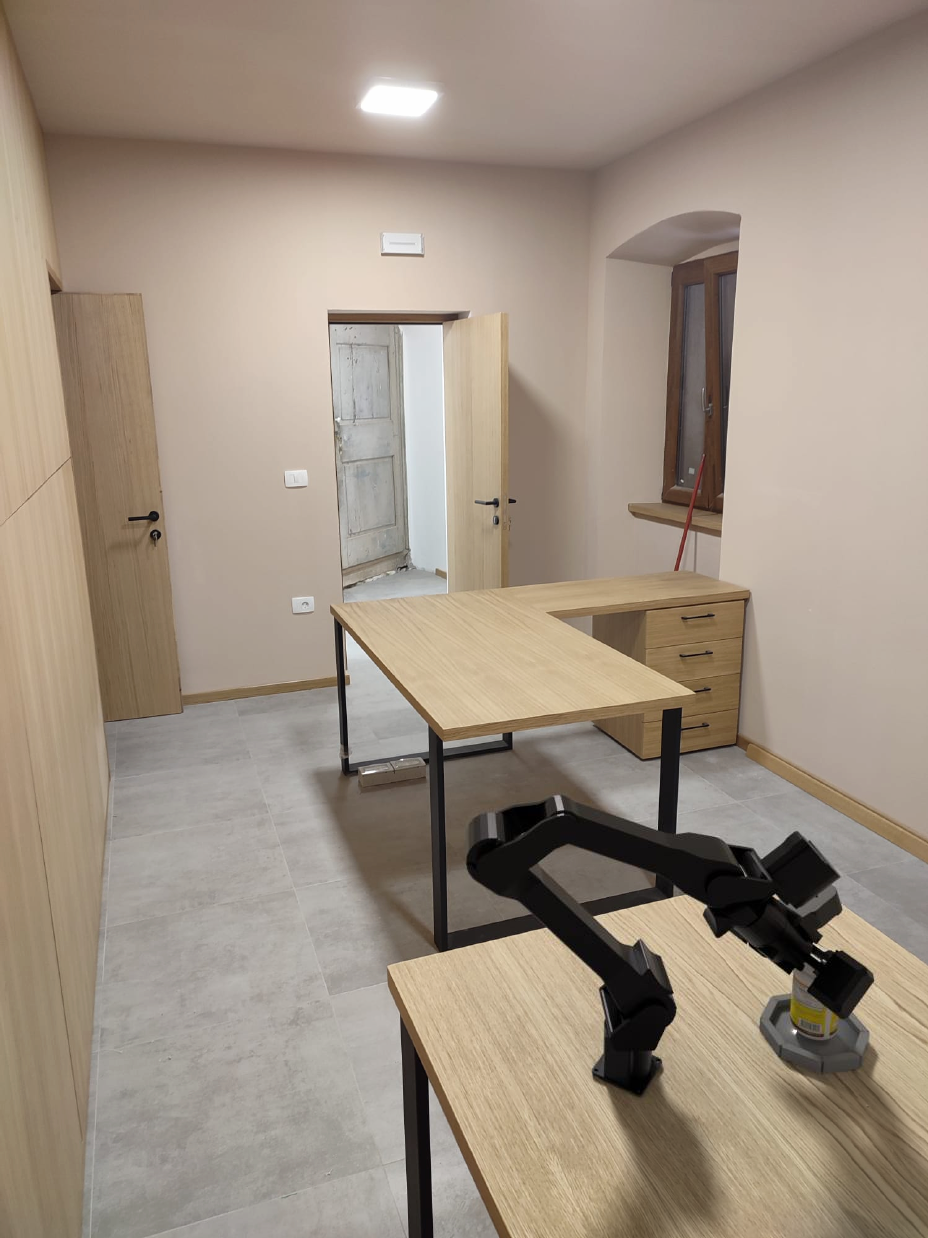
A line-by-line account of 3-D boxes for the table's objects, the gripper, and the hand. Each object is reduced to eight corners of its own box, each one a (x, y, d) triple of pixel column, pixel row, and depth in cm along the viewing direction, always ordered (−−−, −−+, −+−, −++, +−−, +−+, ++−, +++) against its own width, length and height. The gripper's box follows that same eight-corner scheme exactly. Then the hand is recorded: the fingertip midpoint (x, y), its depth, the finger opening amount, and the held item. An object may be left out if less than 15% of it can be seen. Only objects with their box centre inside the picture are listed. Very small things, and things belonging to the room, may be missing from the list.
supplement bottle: (822, 1010, 111) (829, 940, 109) (845, 1041, 106) (853, 967, 103) (781, 1014, 110) (786, 943, 108) (802, 1045, 105) (808, 971, 103)
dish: (853, 1087, 100) (855, 1076, 100) (750, 1045, 107) (751, 1035, 107) (874, 1026, 110) (875, 1015, 109) (778, 991, 117) (778, 981, 116)
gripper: (871, 907, 92) (929, 968, 100) (747, 830, 109) (805, 887, 116) (809, 992, 91) (873, 1047, 98) (694, 901, 108) (756, 954, 115)
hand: (825, 977), depth 107 cm, fingers closed on supplement bottle, 5 cm apart
